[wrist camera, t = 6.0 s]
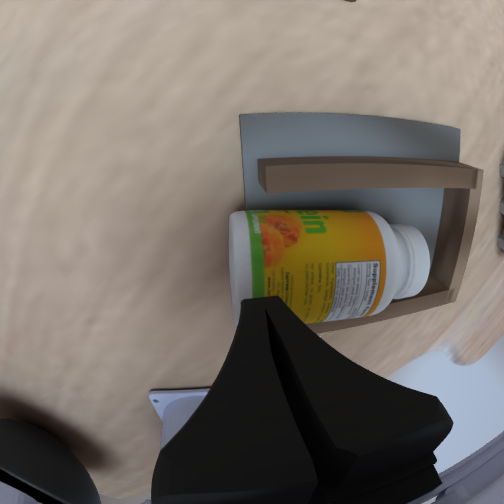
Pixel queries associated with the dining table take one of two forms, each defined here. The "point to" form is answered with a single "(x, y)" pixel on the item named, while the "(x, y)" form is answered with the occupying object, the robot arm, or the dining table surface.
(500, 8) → the dining table surface
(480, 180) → the cradle
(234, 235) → the supplement bottle
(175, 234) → the dining table surface
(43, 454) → the bowl of black rocks
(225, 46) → the dining table surface
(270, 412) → the robot arm
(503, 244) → the egg carton
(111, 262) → the dining table surface
